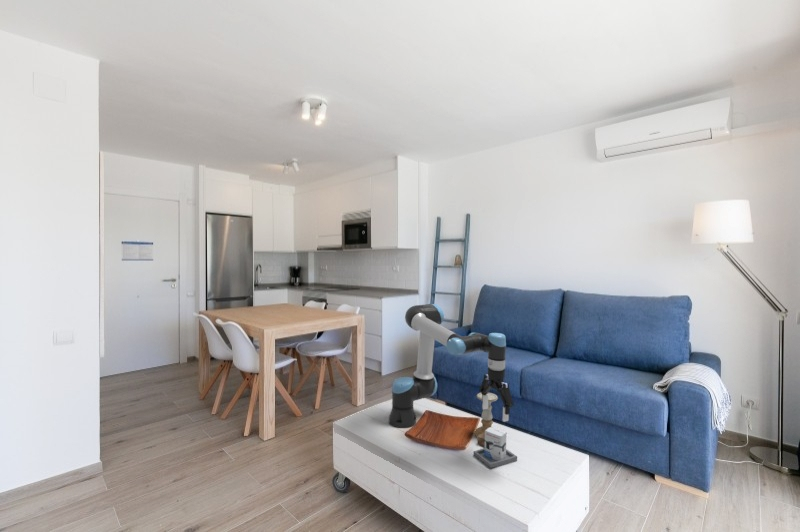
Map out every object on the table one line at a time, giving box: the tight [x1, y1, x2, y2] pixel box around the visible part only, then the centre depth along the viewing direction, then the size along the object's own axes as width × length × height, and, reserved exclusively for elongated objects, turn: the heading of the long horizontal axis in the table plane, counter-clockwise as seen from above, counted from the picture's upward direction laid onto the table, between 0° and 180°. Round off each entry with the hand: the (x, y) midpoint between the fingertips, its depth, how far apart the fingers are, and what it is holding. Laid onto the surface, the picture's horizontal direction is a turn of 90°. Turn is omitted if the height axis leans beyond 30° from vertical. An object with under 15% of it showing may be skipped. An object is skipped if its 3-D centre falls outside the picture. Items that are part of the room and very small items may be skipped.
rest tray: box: [472, 447, 518, 470], centre depth 168 cm, size 12×15×2 cm
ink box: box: [484, 426, 507, 461], centre depth 168 cm, size 8×5×12 cm, turn 47°
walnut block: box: [477, 433, 485, 448], centre depth 180 cm, size 5×5×4 cm
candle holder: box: [474, 392, 499, 438], centre depth 190 cm, size 12×12×20 cm
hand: (494, 414), depth 168 cm, fingers open, 13 cm apart
